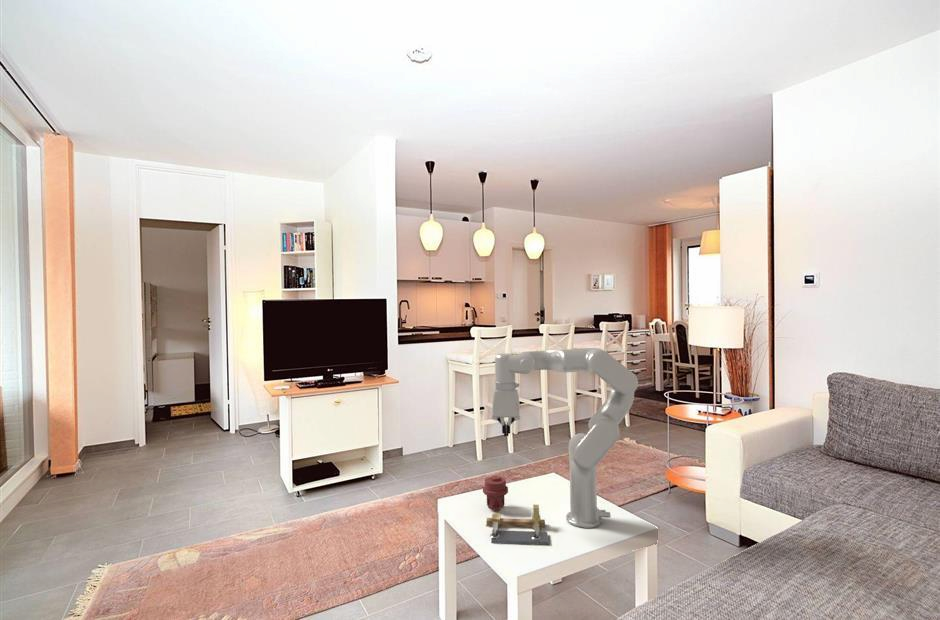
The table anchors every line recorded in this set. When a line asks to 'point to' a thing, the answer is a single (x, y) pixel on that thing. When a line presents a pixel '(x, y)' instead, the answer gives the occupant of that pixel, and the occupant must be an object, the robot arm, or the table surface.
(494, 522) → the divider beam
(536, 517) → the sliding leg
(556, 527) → the table surface
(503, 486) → the mechanical component
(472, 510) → the table surface
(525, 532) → the hole plate
